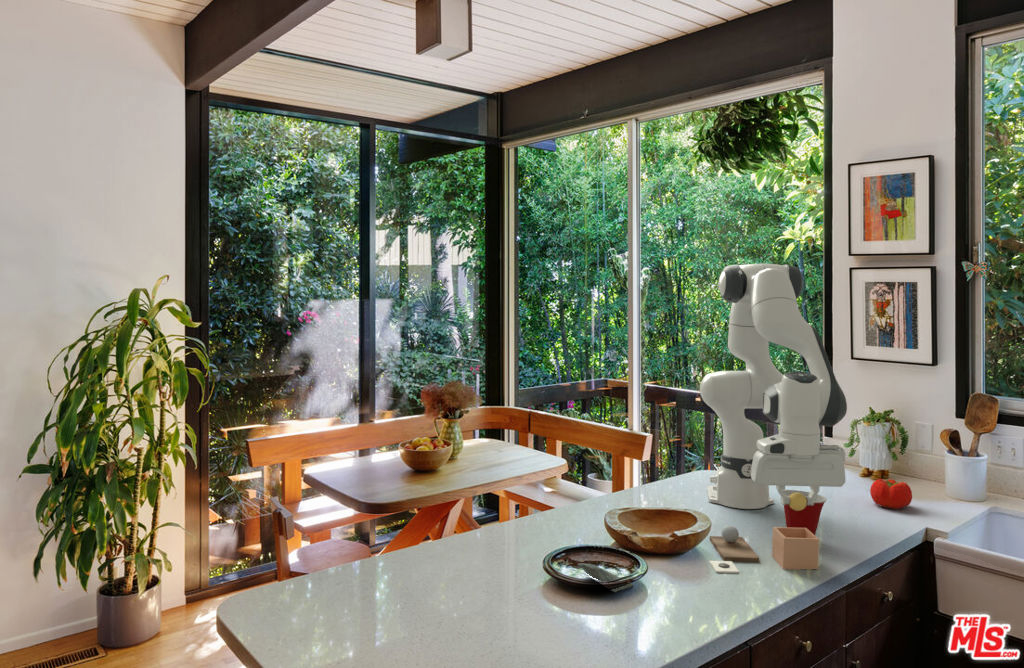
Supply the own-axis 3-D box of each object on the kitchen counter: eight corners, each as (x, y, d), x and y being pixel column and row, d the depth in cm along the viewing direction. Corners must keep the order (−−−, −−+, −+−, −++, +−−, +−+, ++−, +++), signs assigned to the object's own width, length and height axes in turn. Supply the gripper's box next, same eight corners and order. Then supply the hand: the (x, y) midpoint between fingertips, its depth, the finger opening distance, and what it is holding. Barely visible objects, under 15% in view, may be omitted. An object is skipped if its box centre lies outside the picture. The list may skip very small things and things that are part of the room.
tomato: (918, 507, 207) (919, 482, 207) (898, 514, 201) (899, 488, 200) (881, 498, 216) (883, 474, 215) (862, 504, 210) (863, 479, 209)
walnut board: (709, 540, 178) (709, 536, 178) (741, 540, 177) (742, 536, 177) (723, 561, 164) (723, 556, 164) (759, 562, 163) (759, 557, 163)
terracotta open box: (771, 556, 167) (772, 527, 167) (805, 557, 167) (806, 527, 166) (783, 569, 159) (784, 538, 159) (818, 569, 159) (819, 539, 159)
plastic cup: (835, 545, 175) (837, 497, 174) (802, 551, 171) (804, 502, 170) (800, 531, 185) (802, 485, 184) (768, 536, 181) (770, 490, 180)
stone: (598, 575, 158) (566, 572, 152) (603, 558, 158) (572, 554, 152) (633, 596, 149) (600, 594, 143) (638, 578, 150) (606, 575, 143)
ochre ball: (785, 507, 164) (785, 490, 164) (802, 507, 164) (803, 490, 164) (791, 512, 160) (791, 495, 160) (809, 513, 160) (809, 495, 160)
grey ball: (719, 539, 176) (720, 523, 175) (736, 539, 175) (736, 523, 175) (723, 544, 172) (724, 528, 171) (740, 545, 171) (741, 528, 171)
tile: (709, 562, 163) (709, 559, 163) (731, 563, 163) (731, 560, 163) (715, 572, 157) (716, 570, 157) (738, 573, 157) (738, 570, 157)
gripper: (839, 442, 164) (837, 501, 165) (749, 440, 165) (748, 499, 166) (851, 448, 158) (849, 509, 159) (758, 446, 159) (756, 507, 159)
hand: (796, 504), depth 162 cm, fingers closed on ochre ball, 4 cm apart
